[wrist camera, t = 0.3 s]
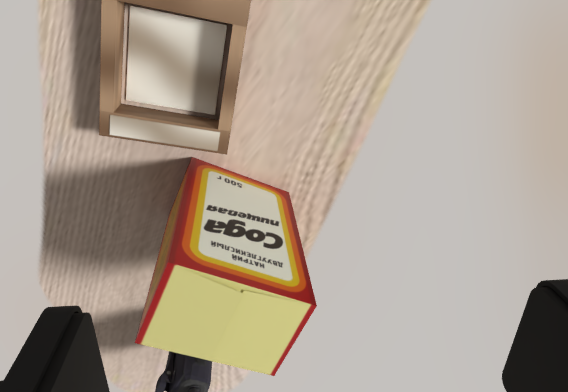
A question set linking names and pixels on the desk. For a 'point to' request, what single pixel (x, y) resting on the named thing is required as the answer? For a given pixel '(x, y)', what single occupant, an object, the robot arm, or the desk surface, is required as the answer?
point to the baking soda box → (228, 273)
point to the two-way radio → (185, 374)
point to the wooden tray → (171, 71)
